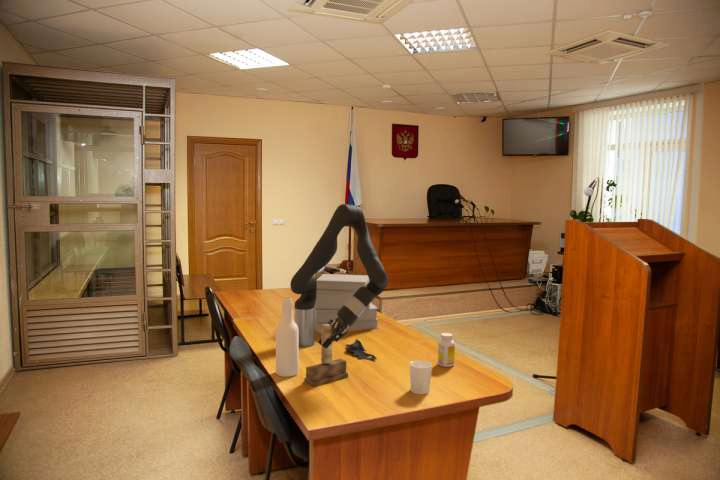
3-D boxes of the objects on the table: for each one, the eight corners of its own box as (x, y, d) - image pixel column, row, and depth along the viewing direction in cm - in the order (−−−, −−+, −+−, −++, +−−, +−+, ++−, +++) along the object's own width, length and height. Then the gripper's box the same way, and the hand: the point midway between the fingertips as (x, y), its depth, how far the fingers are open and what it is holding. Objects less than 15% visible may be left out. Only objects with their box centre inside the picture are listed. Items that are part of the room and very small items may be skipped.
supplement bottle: (455, 363, 209) (456, 333, 207) (452, 368, 202) (453, 337, 201) (439, 361, 211) (440, 331, 209) (436, 366, 204) (437, 335, 203)
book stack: (303, 321, 271) (303, 274, 269) (362, 316, 284) (363, 271, 281) (319, 336, 243) (319, 285, 241) (384, 330, 256) (385, 280, 254)
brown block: (312, 386, 182) (312, 370, 181) (304, 381, 187) (304, 366, 186) (348, 377, 192) (348, 361, 191) (339, 372, 196) (339, 357, 196)
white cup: (407, 386, 183) (407, 360, 182) (428, 386, 183) (429, 360, 182) (411, 395, 175) (411, 368, 174) (433, 395, 176) (434, 367, 175)
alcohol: (273, 371, 197) (272, 296, 194) (294, 368, 200) (294, 295, 197) (279, 379, 189) (278, 301, 186) (301, 375, 192) (301, 299, 189)
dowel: (319, 361, 189) (319, 325, 187) (328, 359, 191) (328, 323, 190) (325, 364, 186) (325, 327, 184) (334, 362, 188) (334, 325, 187)
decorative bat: (337, 334, 234) (358, 334, 237) (337, 343, 234) (357, 343, 237) (356, 354, 206) (378, 354, 209) (355, 364, 206) (377, 363, 209)
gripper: (338, 300, 196) (308, 334, 192) (352, 308, 183) (321, 345, 179) (350, 312, 199) (321, 346, 195) (365, 321, 186) (335, 357, 182)
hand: (321, 345), depth 187 cm, fingers closed on dowel, 4 cm apart
